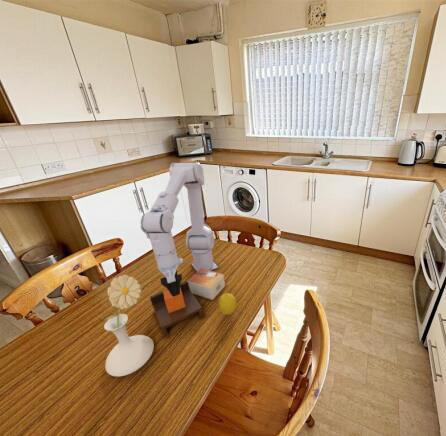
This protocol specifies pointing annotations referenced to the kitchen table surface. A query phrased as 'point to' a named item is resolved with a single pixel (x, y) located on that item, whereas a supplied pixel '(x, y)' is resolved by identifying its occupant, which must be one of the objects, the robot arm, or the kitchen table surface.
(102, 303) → the kitchen table surface
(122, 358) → the flower in vase
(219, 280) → the small box
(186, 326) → the kitchen table surface
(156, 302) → the toy bench
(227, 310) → the lemon
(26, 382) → the kitchen table surface
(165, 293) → the package
